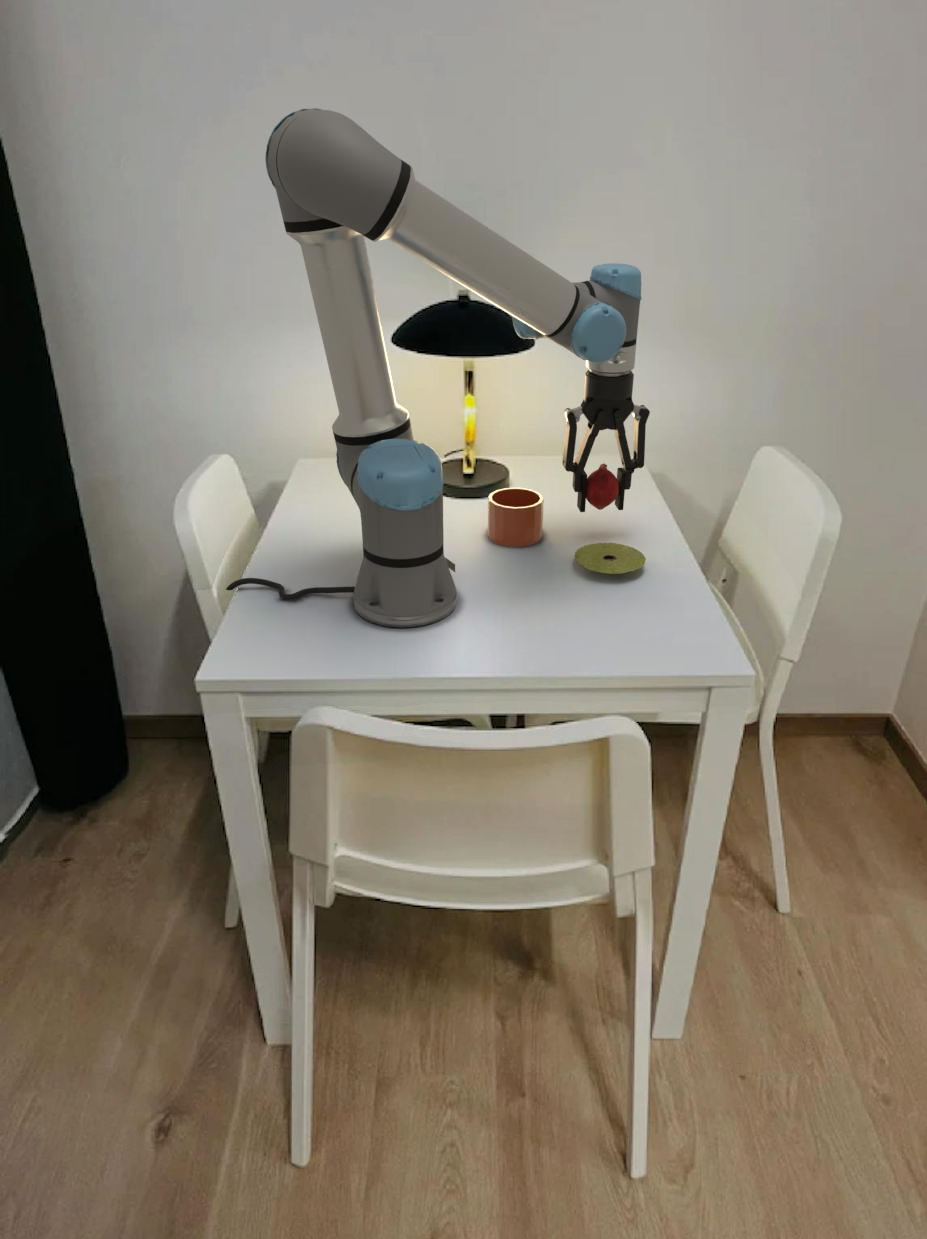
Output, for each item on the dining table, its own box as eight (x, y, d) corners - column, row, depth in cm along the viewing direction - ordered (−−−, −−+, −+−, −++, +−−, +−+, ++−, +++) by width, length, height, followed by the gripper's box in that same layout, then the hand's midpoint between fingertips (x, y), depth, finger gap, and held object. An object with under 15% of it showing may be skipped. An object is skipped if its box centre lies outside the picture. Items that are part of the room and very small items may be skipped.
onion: (616, 517, 151) (619, 471, 147) (581, 514, 152) (583, 469, 148) (618, 504, 156) (621, 459, 152) (584, 501, 157) (587, 457, 153)
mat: (640, 587, 140) (641, 576, 139) (567, 579, 143) (568, 567, 142) (647, 557, 150) (649, 546, 149) (579, 549, 152) (580, 538, 151)
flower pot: (491, 548, 153) (492, 509, 149) (484, 526, 161) (485, 488, 157) (546, 545, 154) (547, 507, 150) (536, 523, 162) (537, 486, 158)
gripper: (555, 378, 139) (549, 519, 150) (675, 374, 140) (660, 513, 152) (546, 366, 145) (540, 502, 157) (661, 362, 147) (648, 496, 158)
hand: (599, 507), depth 154 cm, fingers closed on onion, 6 cm apart
